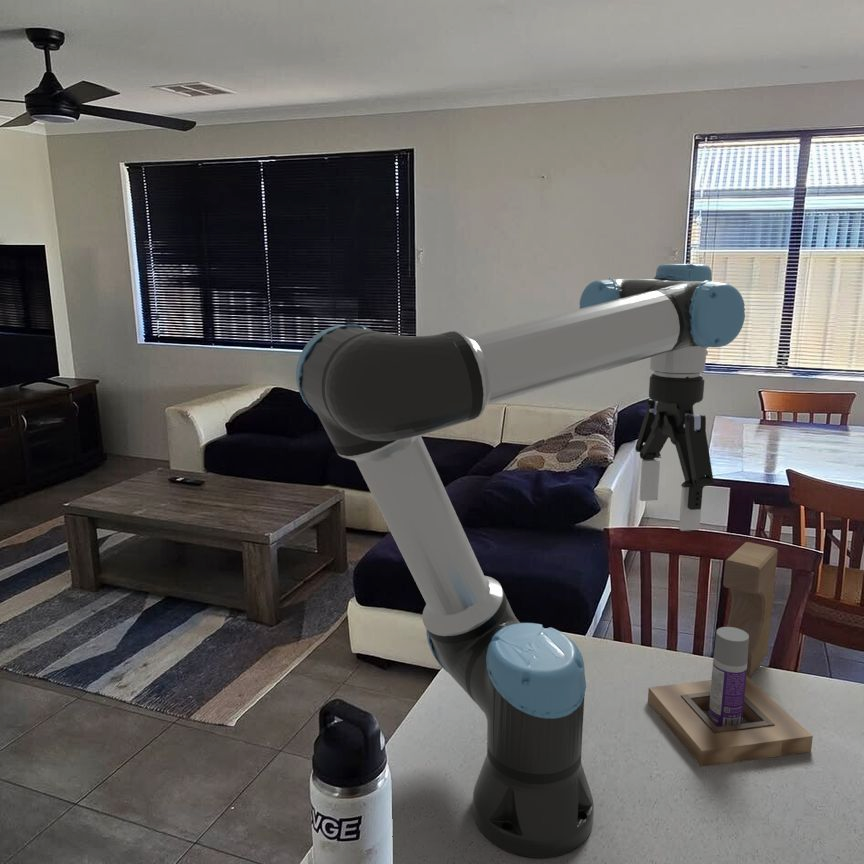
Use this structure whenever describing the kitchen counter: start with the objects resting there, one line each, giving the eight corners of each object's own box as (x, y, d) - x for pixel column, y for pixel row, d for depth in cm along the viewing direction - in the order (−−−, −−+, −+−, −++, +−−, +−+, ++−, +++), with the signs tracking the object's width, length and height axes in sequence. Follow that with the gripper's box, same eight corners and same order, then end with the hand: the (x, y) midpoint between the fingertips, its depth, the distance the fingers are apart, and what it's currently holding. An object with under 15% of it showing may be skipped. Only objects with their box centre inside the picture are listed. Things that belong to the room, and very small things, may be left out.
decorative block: (748, 681, 125) (759, 568, 120) (714, 669, 128) (723, 559, 124) (769, 654, 133) (779, 548, 128) (736, 644, 136) (745, 540, 132)
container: (744, 722, 114) (752, 631, 110) (737, 738, 110) (746, 644, 106) (712, 712, 116) (719, 623, 113) (704, 728, 112) (712, 636, 109)
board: (700, 766, 104) (702, 749, 103) (647, 701, 119) (648, 686, 118) (810, 751, 107) (812, 734, 106) (745, 689, 122) (746, 674, 121)
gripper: (749, 386, 97) (735, 542, 101) (663, 361, 121) (655, 488, 125) (694, 388, 95) (682, 545, 100) (618, 362, 120) (612, 490, 124)
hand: (667, 514), depth 113 cm, fingers open, 13 cm apart
